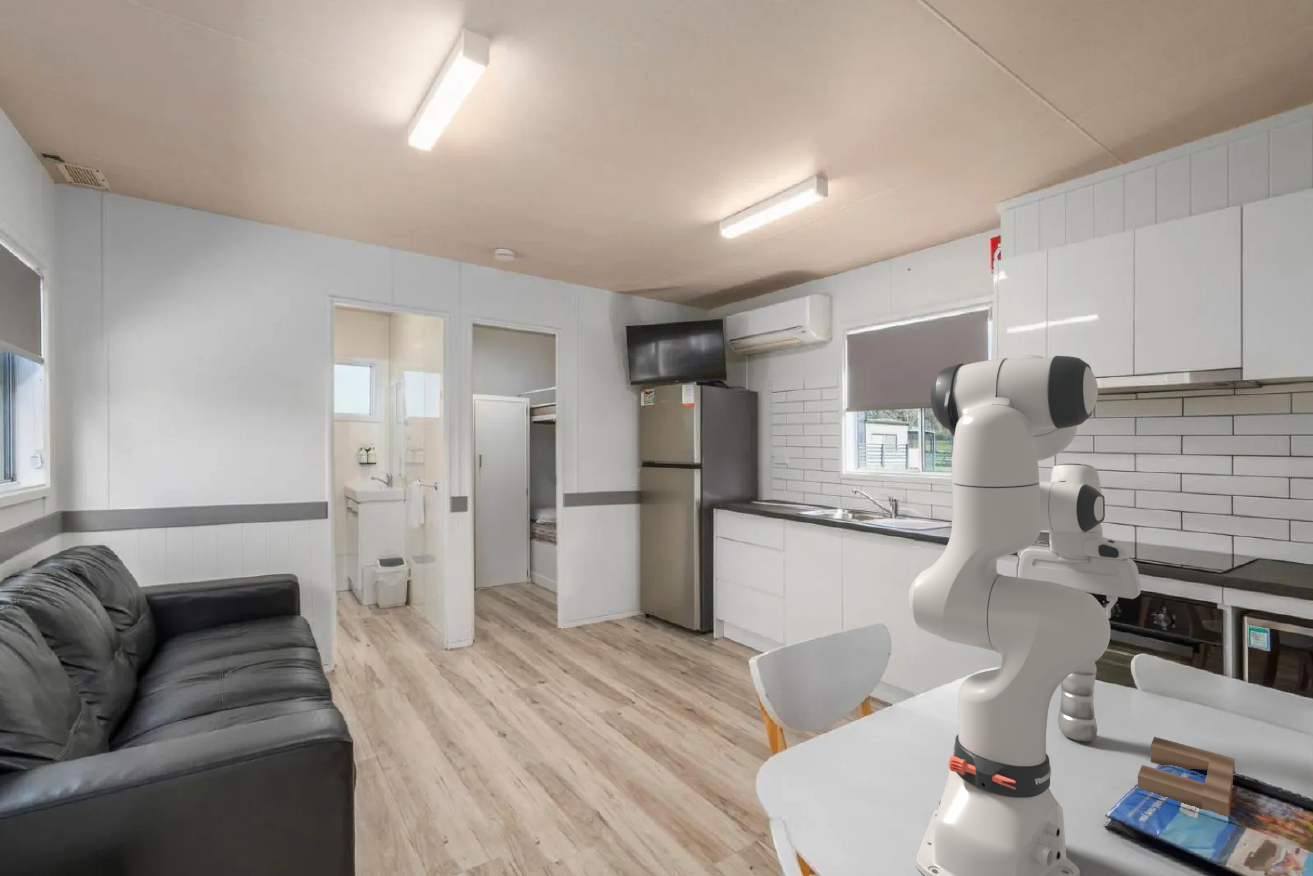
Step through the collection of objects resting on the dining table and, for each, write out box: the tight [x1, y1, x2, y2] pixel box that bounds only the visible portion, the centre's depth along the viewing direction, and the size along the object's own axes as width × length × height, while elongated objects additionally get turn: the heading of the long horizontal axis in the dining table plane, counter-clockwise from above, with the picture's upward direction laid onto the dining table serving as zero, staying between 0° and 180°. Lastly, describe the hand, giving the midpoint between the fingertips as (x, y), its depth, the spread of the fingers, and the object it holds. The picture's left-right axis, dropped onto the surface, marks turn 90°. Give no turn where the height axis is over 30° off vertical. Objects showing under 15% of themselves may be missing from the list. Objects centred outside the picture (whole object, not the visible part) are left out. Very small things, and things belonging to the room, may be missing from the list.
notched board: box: [1137, 736, 1236, 819], centre depth 103 cm, size 20×11×3 cm, turn 134°
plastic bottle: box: [1057, 661, 1098, 743], centre depth 119 cm, size 6×7×20 cm
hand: (1076, 612), depth 120 cm, fingers open, 8 cm apart
